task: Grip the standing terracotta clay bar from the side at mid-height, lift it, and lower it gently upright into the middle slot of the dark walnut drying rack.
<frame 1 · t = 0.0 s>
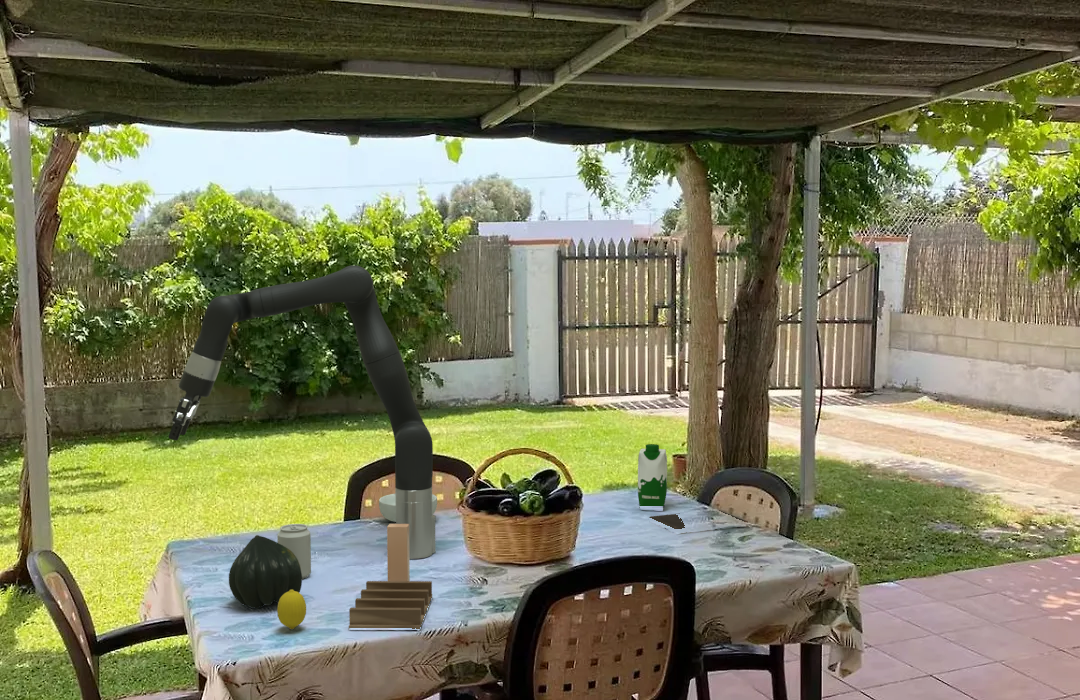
hand: (176, 436, 232), 31 cm above the table, tool tilted 20°, fingers open, 8 cm apart
can: (294, 577, 225), on the table
lemon: (292, 630, 190), on the table
cereal bowl: (408, 522, 278), on the table
squash: (266, 603, 206), on the table
drying rack: (392, 613, 199), on the table
clay bar: (398, 586, 217), on the table
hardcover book: (697, 527, 275), on the table
milk carton: (652, 509, 295), on the table
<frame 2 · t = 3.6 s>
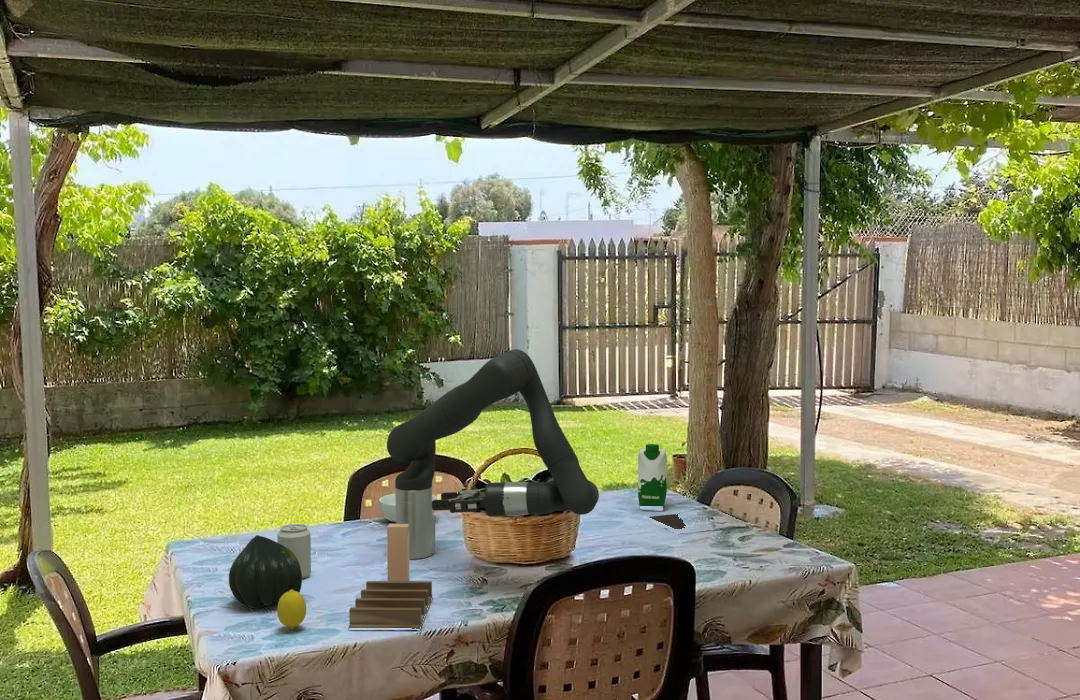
hand: (436, 501, 215), 20 cm above the table, tool horizontal, fingers open, 8 cm apart
nothing on the table moved.
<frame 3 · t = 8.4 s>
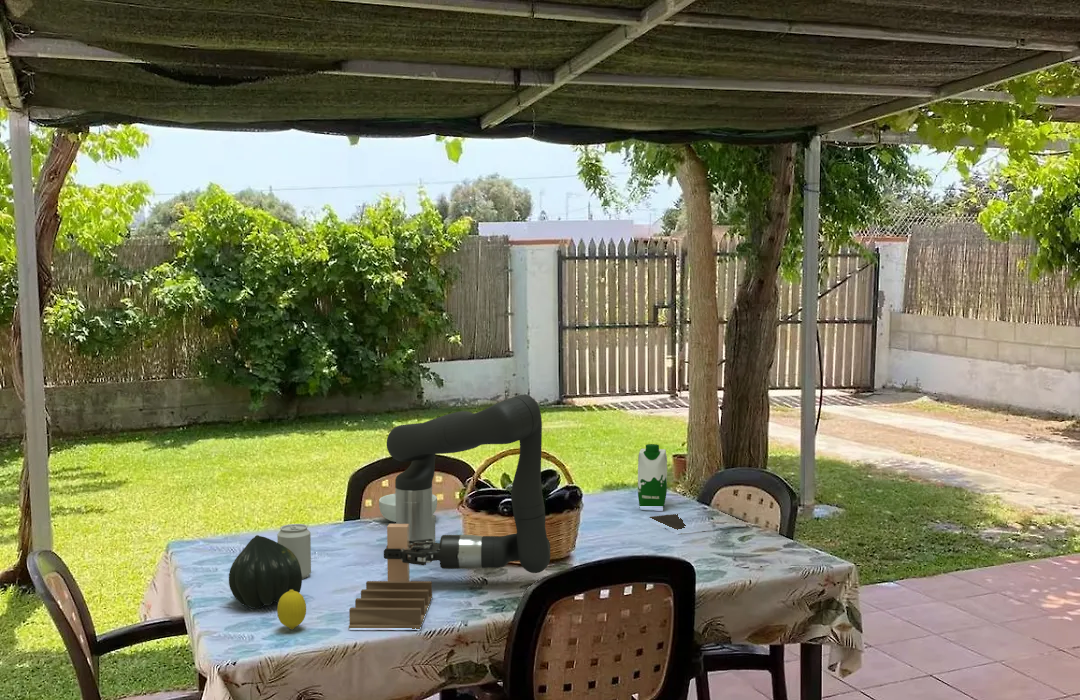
hand: (385, 551, 217), 8 cm above the table, tool horizontal, fingers closed on clay bar, 3 cm apart
clay bar: (398, 586, 217), on the table, touching gripper
everything else where it was.
when the fingers open (10 cm above the table, at t = 14.1 s): clay bar drops 1 cm, resting on drying rack.
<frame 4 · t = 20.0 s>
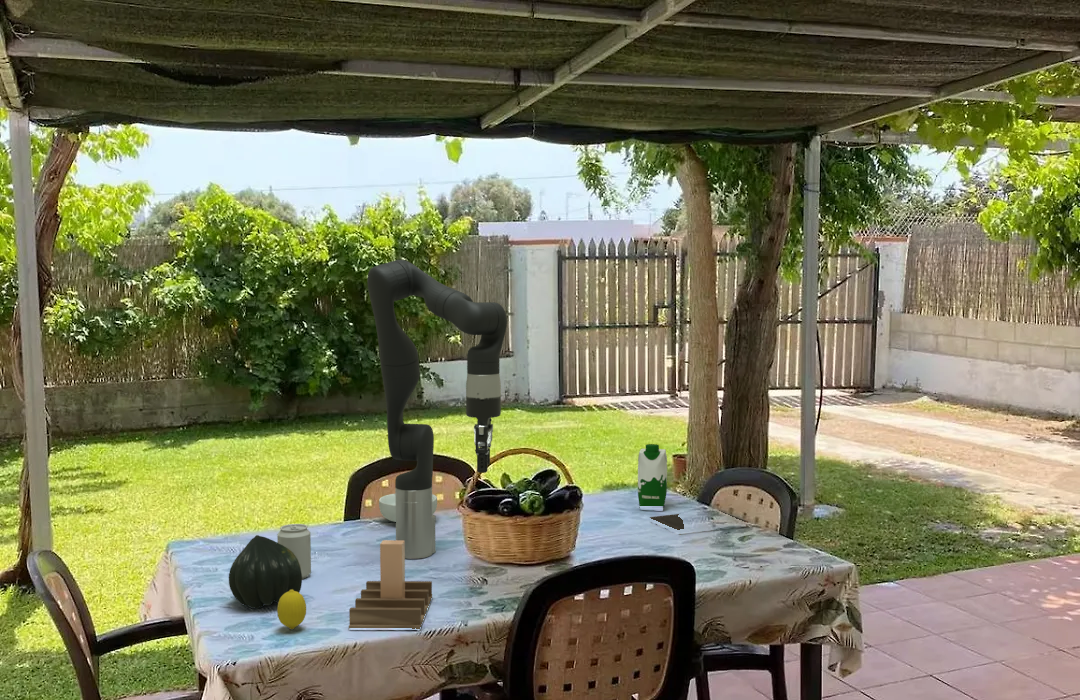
hand: (483, 468, 209), 28 cm above the table, tool pointing down, fingers open, 8 cm apart
clay bar: (393, 608, 199), point 1 cm above the table, touching drying rack
everything else where it was.
at the end: clay bar 0.1 cm off-centre on the drying rack, point 1.0 cm above the drying rack's base; clay bar tilted 0°; the gripper is holding nothing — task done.
